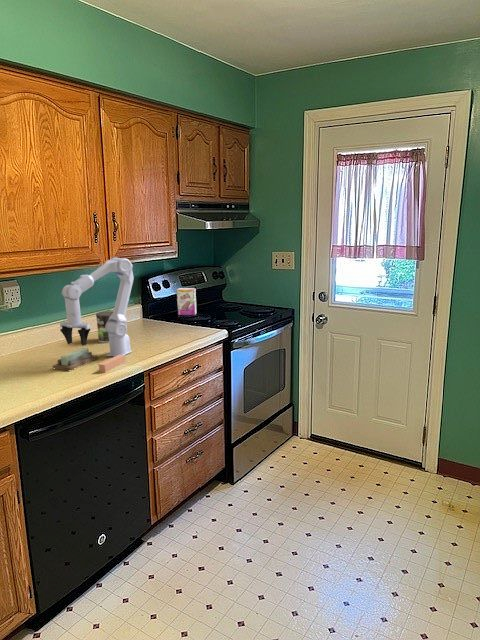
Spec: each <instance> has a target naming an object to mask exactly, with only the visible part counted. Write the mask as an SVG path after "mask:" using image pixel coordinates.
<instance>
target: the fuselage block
mask: <svg viewBox="0 0 480 640" xmlns="http://www.w3.org/2000/svg"><path fill="white" fill-rule="evenodd" d="M88 352H90V350H89V348H87V347H82V348H79V349H77V350H73V351H72V352H69V353H67V354H65V355H62V356H60V359H61V363H62V365H69V364H68V361H70V360H72V359H75V358H77V357H79V356H82V355H84V354H86V353H88Z"/></svg>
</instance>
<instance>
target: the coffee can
mask: <svg viewBox="0 0 480 640" xmlns="http://www.w3.org/2000/svg"><path fill="white" fill-rule="evenodd" d="M113 311H114V310H109V311H99V312H97V313H96V314H95V316H96V326H97V327H96V329H97V337H98V342H99V343H103V344H107V343H109V334H108V332H107V331H106V329H105V325H106V323H107V322H108V320H109V317H110V316H111V315H112V314H113Z"/></svg>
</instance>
